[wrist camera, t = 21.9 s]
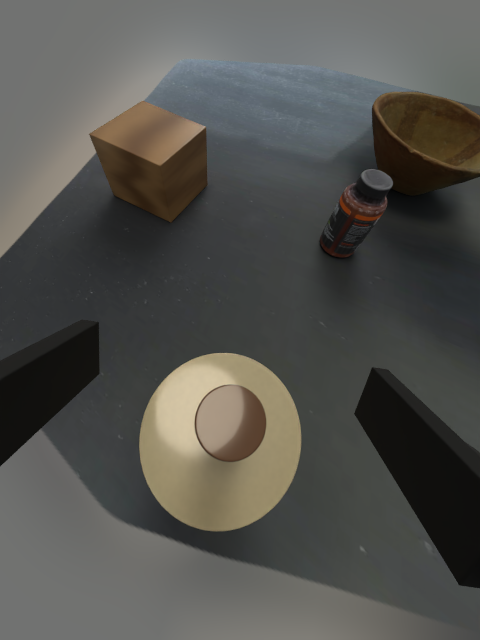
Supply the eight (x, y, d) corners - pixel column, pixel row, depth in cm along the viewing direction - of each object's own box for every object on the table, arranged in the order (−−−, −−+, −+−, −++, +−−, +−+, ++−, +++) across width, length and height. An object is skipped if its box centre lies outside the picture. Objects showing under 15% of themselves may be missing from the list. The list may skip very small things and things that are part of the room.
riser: (113, 195, 40) (88, 133, 32) (155, 161, 45) (142, 100, 37) (171, 222, 39) (160, 165, 31) (207, 184, 43) (206, 126, 35)
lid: (114, 406, 16) (29, 378, 9) (242, 331, 20) (261, 262, 12) (192, 578, 13) (165, 766, 6) (330, 452, 16) (430, 463, 9)
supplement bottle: (361, 253, 40) (412, 189, 30) (332, 264, 38) (376, 200, 28) (339, 227, 42) (380, 159, 32) (311, 237, 40) (344, 168, 30)
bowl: (354, 213, 44) (391, 155, 35) (340, 140, 54) (365, 80, 45) (470, 228, 45) (533, 176, 36) (434, 154, 55) (477, 99, 46)
